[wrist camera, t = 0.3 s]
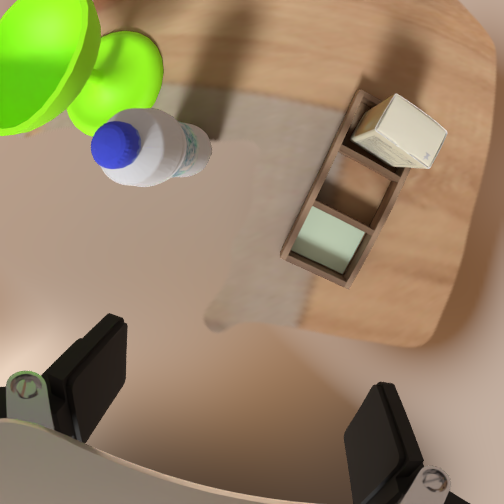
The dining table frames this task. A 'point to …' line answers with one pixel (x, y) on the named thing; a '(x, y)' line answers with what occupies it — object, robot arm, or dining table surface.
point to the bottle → (149, 147)
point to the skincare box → (399, 134)
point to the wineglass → (70, 67)
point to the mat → (327, 240)
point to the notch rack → (310, 201)
